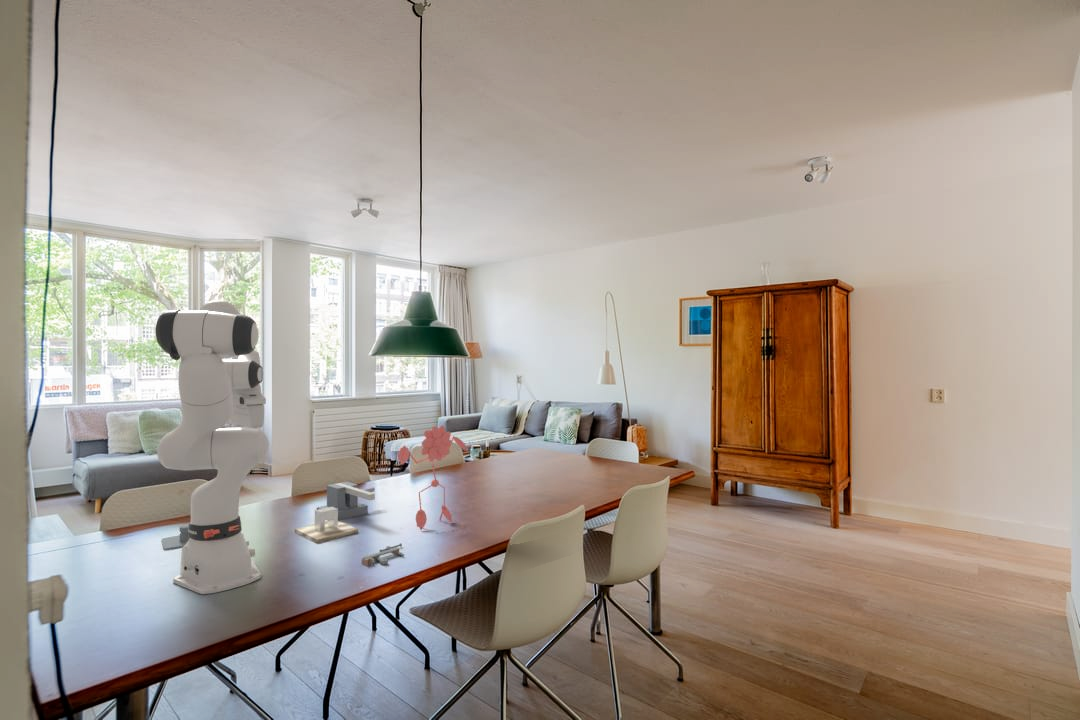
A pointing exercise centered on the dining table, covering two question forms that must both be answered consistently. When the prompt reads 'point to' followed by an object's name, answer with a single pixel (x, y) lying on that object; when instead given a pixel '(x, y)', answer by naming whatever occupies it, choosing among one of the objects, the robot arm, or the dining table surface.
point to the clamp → (375, 557)
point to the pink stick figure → (435, 448)
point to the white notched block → (326, 518)
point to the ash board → (326, 532)
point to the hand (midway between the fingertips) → (246, 439)
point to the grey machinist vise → (348, 499)
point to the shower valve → (177, 539)
